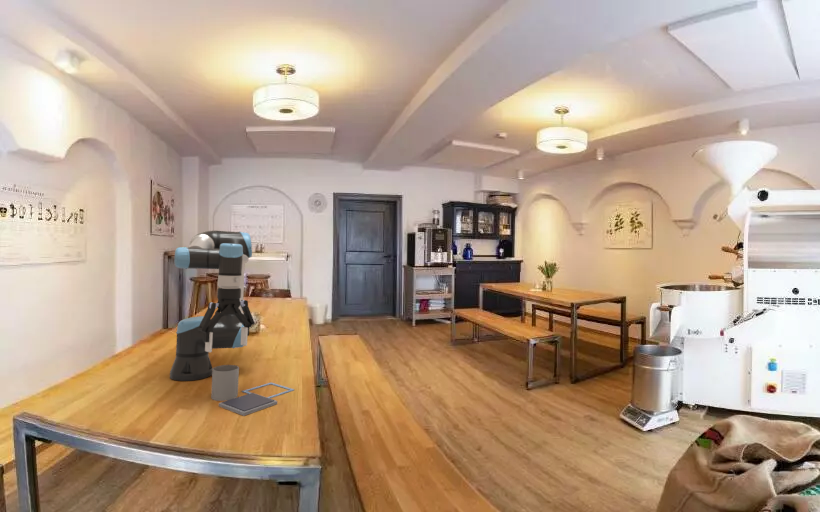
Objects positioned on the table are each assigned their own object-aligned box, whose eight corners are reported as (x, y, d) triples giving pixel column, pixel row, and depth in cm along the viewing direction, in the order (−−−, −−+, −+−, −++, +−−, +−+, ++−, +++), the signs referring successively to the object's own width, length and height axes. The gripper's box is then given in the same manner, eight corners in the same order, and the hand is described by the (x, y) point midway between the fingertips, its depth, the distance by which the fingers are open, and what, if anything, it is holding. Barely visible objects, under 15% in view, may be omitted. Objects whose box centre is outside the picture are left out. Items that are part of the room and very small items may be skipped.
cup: (227, 402, 137) (228, 372, 137) (206, 399, 139) (207, 370, 139) (242, 393, 145) (243, 366, 145) (222, 391, 147) (223, 363, 147)
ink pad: (218, 406, 133) (218, 402, 133) (252, 395, 144) (252, 391, 144) (243, 415, 126) (243, 411, 126) (277, 403, 137) (277, 400, 137)
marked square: (241, 391, 147) (241, 391, 147) (271, 383, 158) (271, 382, 158) (265, 399, 140) (265, 399, 140) (294, 390, 151) (294, 389, 151)
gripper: (201, 289, 129) (198, 356, 129) (266, 287, 150) (263, 344, 150) (188, 288, 133) (185, 352, 133) (253, 285, 154) (250, 341, 154)
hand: (226, 348), depth 142 cm, fingers open, 13 cm apart
